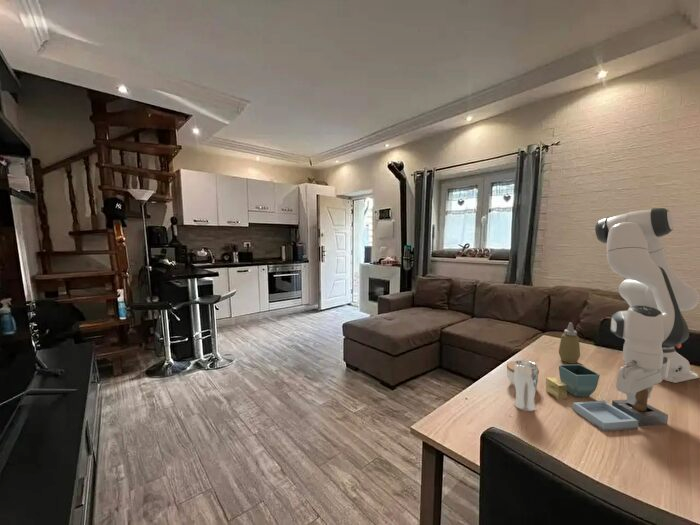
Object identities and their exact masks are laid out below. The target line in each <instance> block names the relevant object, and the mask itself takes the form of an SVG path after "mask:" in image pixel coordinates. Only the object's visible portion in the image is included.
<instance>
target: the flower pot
mask: <svg viewBox="0 0 700 525" xmlns="http://www.w3.org/2000/svg"><path fill="white" fill-rule="evenodd" d="M558 372H559V373H558V375H559V381H561V382H563V383H564V384H566V385H567V391H568V392H569V393H571V394H572V395H573V396H574V397H589V396H590V395H591V396H592V395H593V393H594V392H595V391H596V389H597V387H598V384H599V380H600V373H597V372H595V371H594V370H591V369H589V368H587V367H585V366H584V365H582V364H559V365H558Z"/></svg>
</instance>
